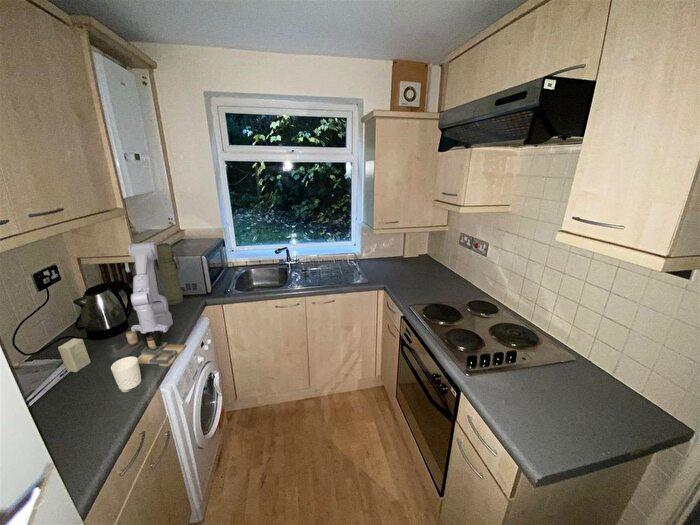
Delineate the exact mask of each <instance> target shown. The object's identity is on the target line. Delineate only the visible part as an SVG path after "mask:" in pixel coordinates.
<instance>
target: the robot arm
mask: <svg viewBox="0 0 700 525" xmlns="http://www.w3.org/2000/svg"><path fill="white" fill-rule="evenodd" d="M127 251H128V255H129V257H131V259H132V260H133V261H134V263H135V272H136V275H135V276H134V277H133V279H132V284H133V286H132V288H133V289H132V292H133V293H131V294H130V301H131V304H132V306H133V309H134V311H136V314H137V319H138V322H139V324H134V325H132V326H131V327H130V331H136V334H137V338H140V339H141V341H142V342H143V343H144V344H145V347H147V346H148V342H147V339H146V337H147V336H148V335H150V334H151V336H152V338H153V339H154V342H155V345H156V347H158V346H159V345H160V344H161V342H162V337H163V333H166V332H168V330H169V328H170V327H171V326H172V325H174V323H173V317H172V313H171V312H170V311H169V305H168V303H167V300H166V297H165V295H163V294H160V292H159V289H158V283H157V277H156V268H155V262H154V260H155V259H157V260H158V254H157V245H156V243H155V242H154V241H151V242H138V243H129V244H128V246H127ZM137 331H138V332H137ZM151 332H152V333H151Z"/></svg>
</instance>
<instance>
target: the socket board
mask: <svg viewBox="0 0 700 525" xmlns="http://www.w3.org/2000/svg"><path fill="white" fill-rule="evenodd" d="M186 348H187V345H186V344H172V343H170V344H168V342H167V341H166V342H165V341H161V344H160V345H159V348H158V349H156V350H153V351H151V350H149V346H145V347H144V348H143V349H142V350H141V351H140V353H141V355H139V356H138V357H136V358H137V359H138V363H139V364H143V365H144V364H149V365H150V364H151V365H158V367H170V365H171V364H172V363H173V362H174V361H175V360H176V359H177V358H178V357H179V355H181V354H182V353H183V351H184V350H185V349H186Z"/></svg>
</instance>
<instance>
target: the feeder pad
mask: <svg viewBox="0 0 700 525" xmlns="http://www.w3.org/2000/svg"><path fill="white" fill-rule="evenodd" d="M138 341H139V344H138V345H136V346H132V347H130V346H129V344H128V343H127V344H126V345H124V346H123V347H121V348H120V349H119V350H118V351H117V352H115V353H114V354H113V355H112V356H111V357H112V358H126V357H129V356H128V355H130V354H131V353H133V352H134V350H136V349H137V348H139V346H140V345H142V344H143V343H144V341H140V340H138Z"/></svg>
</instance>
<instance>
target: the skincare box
mask: <svg viewBox="0 0 700 525" xmlns="http://www.w3.org/2000/svg"><path fill="white" fill-rule="evenodd" d="M57 348H58V349H57V350H58V352H59V354H60V357H61V359H62V362H63V365H64V366H65V370H66V371H67V372H73V373H77V372H78V371H80V370H82V369H83V368H84V367H86V366H87V365H89V364H91V361H92V360H91V359H90V356H89V354H88V351H87V348H86V345H85V342H84V339H83V338H74V337H73V338H72V339H70V340H68V341H67V342H64V343H62V345H60V346H57Z"/></svg>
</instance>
